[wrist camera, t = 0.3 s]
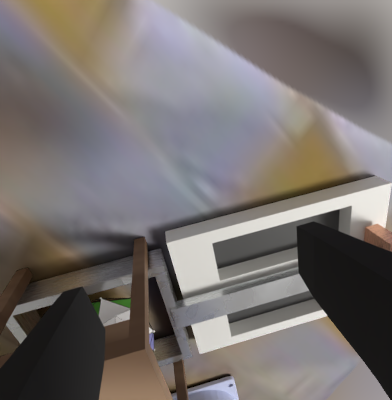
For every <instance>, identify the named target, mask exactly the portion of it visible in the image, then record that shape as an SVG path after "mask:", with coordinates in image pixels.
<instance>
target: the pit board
mask: <svg viewBox="0 0 392 400" xmlns="http://www.w3.org/2000/svg"><path fill="white" fill-rule="evenodd" d="M391 185H392V183H391V182H389V181H386V180H384V179H382V178H379V177H377V176H373V177H369V178H365V179H362V180H358V181H354V182H350V183H347V184H343V185H339V186H335V187H331V188H328V189H324V190H320V191H316V192H312V193H309V194H305V195H301V196H297V197H294V198H290V199H286V200H282V201H278V202H275V203H271V204H267V205H263V206H259V207H256V208H252V209H248V210H244V211H241V212H237V213H233V214H229V215H225V216H222V217H218V218H214V219H210V220H206V221H203V222H199V223H195V224H191V225H188V226H184V227H180V228H176V229H172V230H169V231H165V235H166V243H167V246H168V250H169V253H170V256H171V260H172V263H173V266H174V270H175V273H176V276H177V280H178V283H179V286H180V290H181V293H182V296H183V299H187V298H190V297H194V296H197V295H201V294H204V293H208V292H211V291H215V290H218V289H222V288H225V287H229V286H232V285H236V284H239V283H243V282H246V281H250V280H254V279H257V278H261V277H264V276H268V275H271V274H275V273H278V272H282V271H285V270H289V269H292V268H296V267H298V251H297V227H296V226H299V225H302V224H306V223H310V222H313V221H314V222H317V223H320V224H322V225H325V226H328V227H330V228H333V229H335V230H338V231H340V232H343V233H345V234H348V235H350V236H352V237H355V238H357V239H360V240H362V241H364V235H365V227H367V226H371V225H375V224H379V225H381V226H382V227H384V228H385V226H386V219H387V212H388V206H389V199H390V192H391ZM325 316H327V314H326V313H325V312H324V311H323V309H322V308H321V307H320V305H319V304H318V303H317V302H316V300H315V299H314V297H313V296H312V294H311V293H310V291H306V292H303V293H299V294H296V295H292V296H289V297H285V298H282V299H279V300H275V301H272V302H268V303H265V304H261V305H258V306H255V307H251V308H248V309H244V310H241V311H237V312H234V313H231V314H227V315H224V316H220V317H217V318H213V319H210V320H207V321H203V322H200V323H196V324H193V325H191V326H192V329H193V333H194V336H195V339H196V343H197V346H198V349H199V353H200V354H202V353H206V352H209V351H212V350H215V349H219V348H222V347H225V346H229V345H232V344H235V343H239V342H242V341H245V340H249V339H252V338H255V337H259V336H262V335H265V334H269V333H272V332H275V331H279V330H282V329H285V328H289V327H292V326H295V325H299V324H302V323H305V322H309V321H312V320H315V319H319V318H322V317H325Z"/></svg>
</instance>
